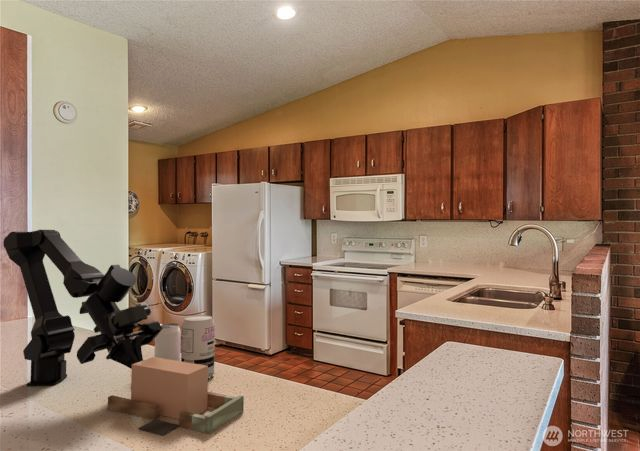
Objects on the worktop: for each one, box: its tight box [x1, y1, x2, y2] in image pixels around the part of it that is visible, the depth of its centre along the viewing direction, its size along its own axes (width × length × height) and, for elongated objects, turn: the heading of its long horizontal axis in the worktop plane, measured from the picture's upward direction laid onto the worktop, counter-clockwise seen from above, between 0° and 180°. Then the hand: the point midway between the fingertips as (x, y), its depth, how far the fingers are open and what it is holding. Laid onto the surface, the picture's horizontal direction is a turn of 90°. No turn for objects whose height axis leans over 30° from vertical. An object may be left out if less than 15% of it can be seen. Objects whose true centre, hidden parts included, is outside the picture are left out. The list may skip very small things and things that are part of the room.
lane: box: [107, 391, 245, 436], centre depth 86 cm, size 26×19×3 cm
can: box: [154, 322, 182, 361], centre depth 111 cm, size 6×6×12 cm
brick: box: [130, 356, 209, 420], centre depth 86 cm, size 15×6×9 cm, turn 66°
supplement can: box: [180, 315, 216, 379], centre depth 106 cm, size 8×8×15 cm
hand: (142, 371), depth 90 cm, fingers closed, pressing on brick
